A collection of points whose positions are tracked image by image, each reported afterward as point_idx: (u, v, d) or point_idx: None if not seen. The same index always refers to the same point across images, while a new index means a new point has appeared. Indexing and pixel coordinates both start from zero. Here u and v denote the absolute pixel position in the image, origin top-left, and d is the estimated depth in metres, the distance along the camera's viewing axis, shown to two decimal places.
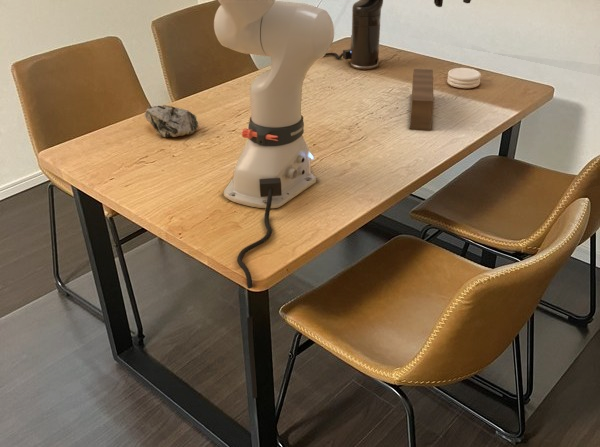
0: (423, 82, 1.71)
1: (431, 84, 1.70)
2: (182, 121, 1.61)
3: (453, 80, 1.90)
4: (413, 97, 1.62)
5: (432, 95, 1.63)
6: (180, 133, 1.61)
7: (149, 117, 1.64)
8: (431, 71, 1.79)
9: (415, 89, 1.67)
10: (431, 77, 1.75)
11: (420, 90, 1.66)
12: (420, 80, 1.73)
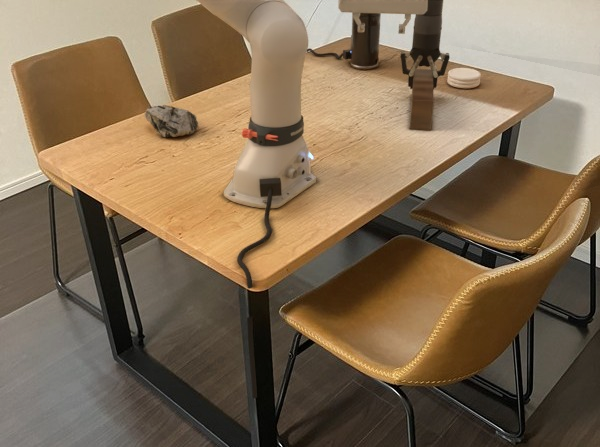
0: (423, 82, 1.71)
1: (431, 84, 1.70)
2: (182, 121, 1.61)
3: (453, 80, 1.90)
4: (413, 97, 1.62)
5: (432, 95, 1.63)
6: (180, 133, 1.61)
7: (149, 117, 1.64)
8: (431, 71, 1.79)
9: (415, 89, 1.67)
10: (431, 77, 1.75)
11: (420, 90, 1.66)
12: (420, 80, 1.73)
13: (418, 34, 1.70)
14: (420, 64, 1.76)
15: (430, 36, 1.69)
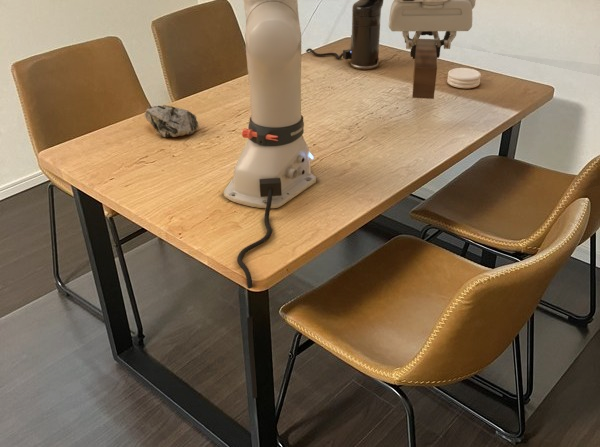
0: (426, 51, 1.67)
1: (434, 52, 1.66)
2: (182, 121, 1.61)
3: (453, 80, 1.90)
4: (416, 64, 1.57)
5: (435, 62, 1.59)
6: (180, 133, 1.61)
7: (149, 117, 1.64)
8: (434, 41, 1.75)
9: (418, 57, 1.62)
10: (434, 46, 1.70)
11: (423, 58, 1.62)
12: (423, 49, 1.68)
13: None
14: (423, 33, 1.71)
15: None
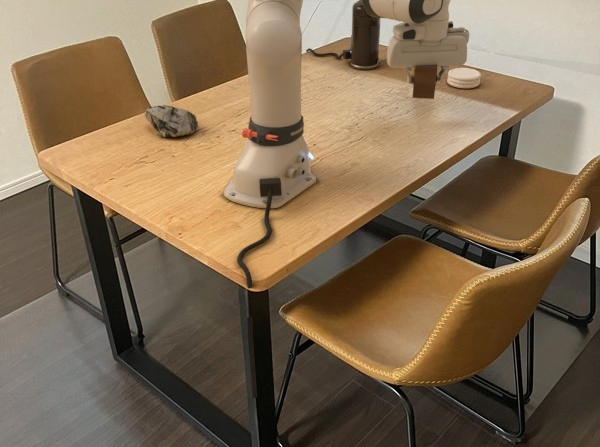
0: None
1: None
2: (182, 121, 1.61)
3: (453, 80, 1.90)
4: None
5: None
6: (180, 133, 1.61)
7: (149, 117, 1.64)
8: None
9: None
10: None
11: None
12: None
13: None
14: None
15: None
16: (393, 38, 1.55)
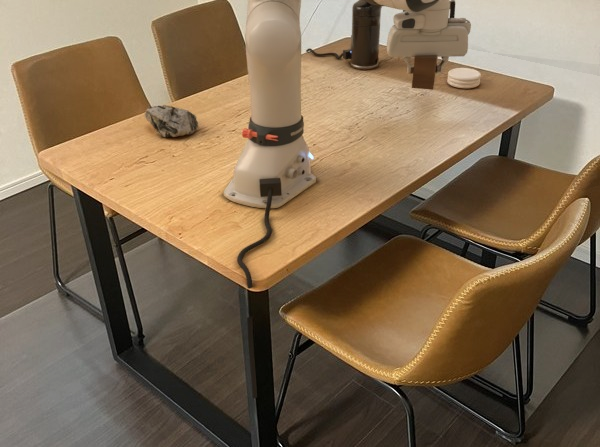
0: None
1: None
2: (182, 121, 1.61)
3: (453, 80, 1.90)
4: None
5: None
6: (180, 133, 1.61)
7: (149, 117, 1.64)
8: None
9: None
10: None
11: None
12: None
13: None
14: None
15: None
16: (393, 27, 1.54)
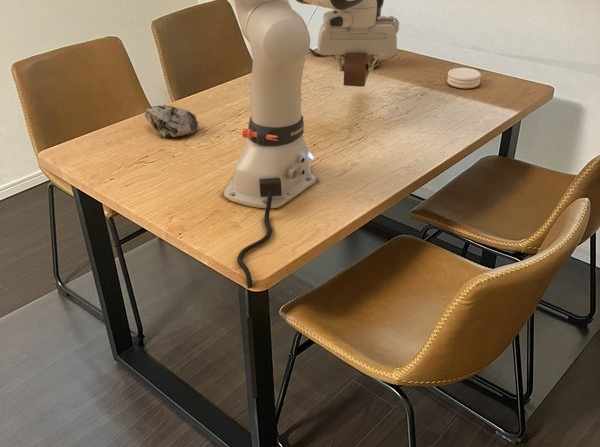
0: None
1: None
2: (182, 121, 1.61)
3: (453, 80, 1.90)
4: None
5: None
6: (180, 133, 1.61)
7: (149, 117, 1.64)
8: None
9: None
10: None
11: None
12: None
13: None
14: None
15: None
16: (323, 25, 1.56)
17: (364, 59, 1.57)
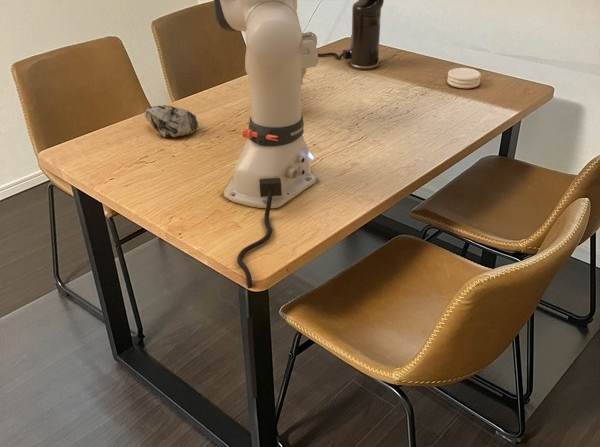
0: None
1: None
2: (182, 121, 1.61)
3: (453, 80, 1.90)
4: None
5: None
6: (180, 133, 1.61)
7: (149, 117, 1.64)
8: None
9: None
10: None
11: None
12: None
13: None
14: None
15: None
16: None
17: None
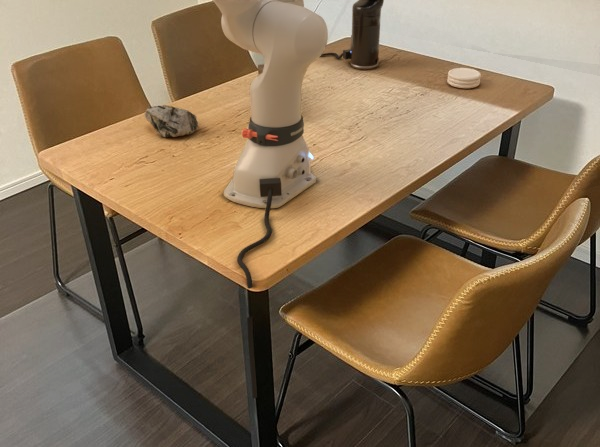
0: None
1: None
2: (182, 121, 1.61)
3: (453, 80, 1.90)
4: None
5: None
6: (180, 133, 1.61)
7: (149, 117, 1.64)
8: None
9: None
10: None
11: None
12: None
13: None
14: None
15: None
16: None
17: None
